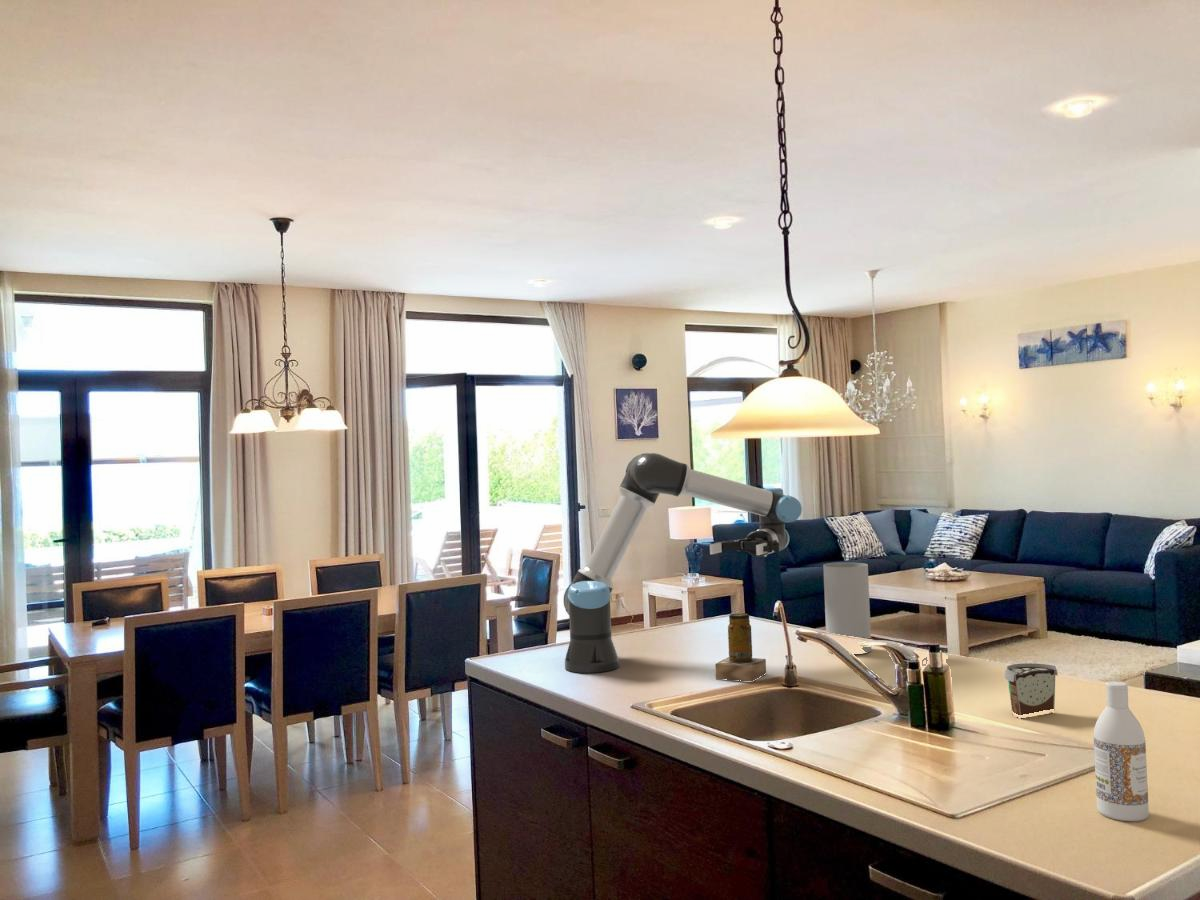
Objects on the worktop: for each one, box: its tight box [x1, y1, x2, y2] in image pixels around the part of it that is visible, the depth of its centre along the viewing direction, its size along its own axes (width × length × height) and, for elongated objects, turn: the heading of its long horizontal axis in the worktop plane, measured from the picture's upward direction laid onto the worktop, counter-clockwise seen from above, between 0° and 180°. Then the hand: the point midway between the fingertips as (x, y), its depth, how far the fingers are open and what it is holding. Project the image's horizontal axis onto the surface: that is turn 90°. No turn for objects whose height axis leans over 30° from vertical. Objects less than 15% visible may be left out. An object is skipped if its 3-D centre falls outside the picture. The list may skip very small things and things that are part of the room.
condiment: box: [722, 612, 763, 664], centre depth 243 cm, size 7×8×12 cm
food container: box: [1003, 662, 1058, 715], centre depth 200 cm, size 12×6×10 cm, turn 111°
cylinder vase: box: [822, 562, 872, 654], centre depth 271 cm, size 12×12×25 cm
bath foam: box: [1093, 680, 1150, 822], centre depth 143 cm, size 7×7×20 cm
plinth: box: [714, 656, 767, 682], centre depth 244 cm, size 10×10×4 cm
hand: (733, 549), depth 256 cm, fingers open, 13 cm apart
